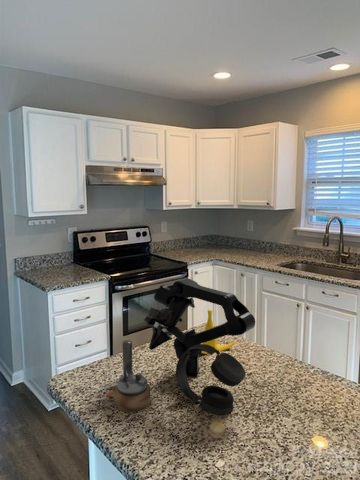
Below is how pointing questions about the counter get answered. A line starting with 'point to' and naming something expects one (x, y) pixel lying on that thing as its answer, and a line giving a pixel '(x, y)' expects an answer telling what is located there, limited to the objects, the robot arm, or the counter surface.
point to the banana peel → (214, 342)
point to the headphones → (223, 370)
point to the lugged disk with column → (130, 375)
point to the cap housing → (131, 400)
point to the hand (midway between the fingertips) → (150, 349)
